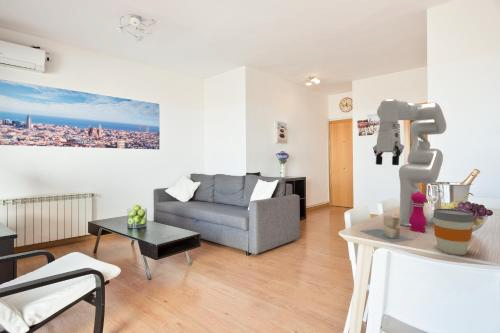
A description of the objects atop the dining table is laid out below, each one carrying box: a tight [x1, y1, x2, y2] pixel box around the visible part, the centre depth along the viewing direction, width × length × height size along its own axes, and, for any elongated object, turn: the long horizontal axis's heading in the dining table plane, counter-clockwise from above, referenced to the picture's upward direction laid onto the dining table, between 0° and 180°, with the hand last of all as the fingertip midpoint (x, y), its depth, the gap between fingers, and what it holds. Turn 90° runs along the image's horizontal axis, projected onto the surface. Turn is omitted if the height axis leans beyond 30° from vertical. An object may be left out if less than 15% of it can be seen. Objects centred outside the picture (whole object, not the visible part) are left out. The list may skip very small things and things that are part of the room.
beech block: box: [382, 214, 401, 239], centre depth 124 cm, size 4×4×9 cm
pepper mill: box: [409, 189, 427, 234], centre depth 136 cm, size 7×7×20 cm
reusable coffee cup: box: [432, 208, 475, 256], centre depth 108 cm, size 13×13×15 cm
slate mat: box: [359, 228, 414, 244], centre depth 127 cm, size 12×19×1 cm, turn 21°
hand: (386, 164), depth 130 cm, fingers open, 9 cm apart
